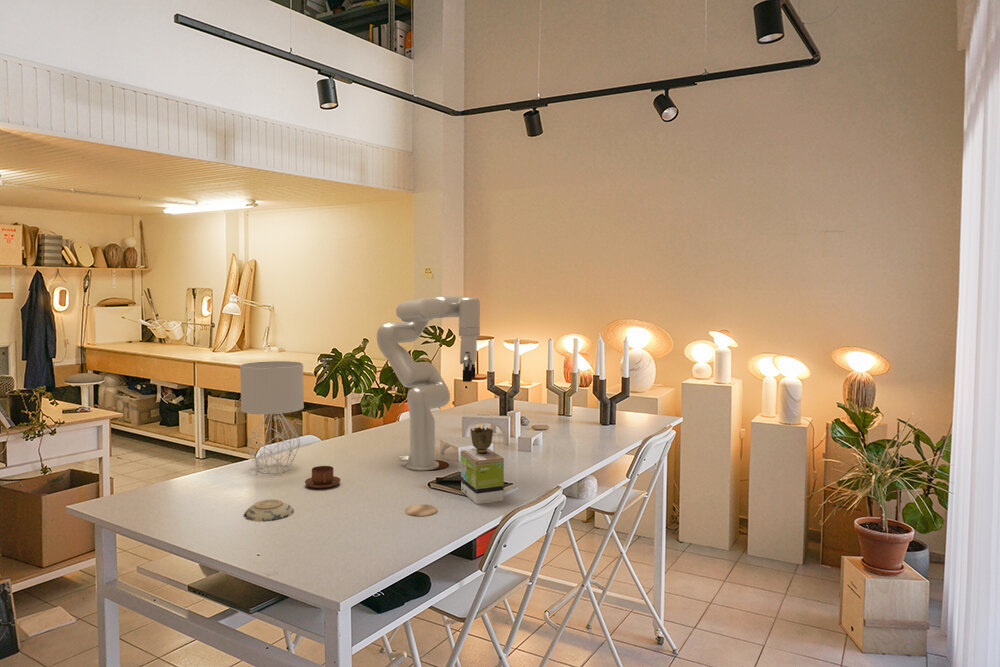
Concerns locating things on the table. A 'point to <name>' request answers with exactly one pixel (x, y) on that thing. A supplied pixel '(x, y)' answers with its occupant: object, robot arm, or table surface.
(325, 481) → the cup and saucer
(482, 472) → the tea box
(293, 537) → the table surface
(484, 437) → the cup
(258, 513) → the decorative bowl
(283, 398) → the table lamp
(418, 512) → the cork coaster
